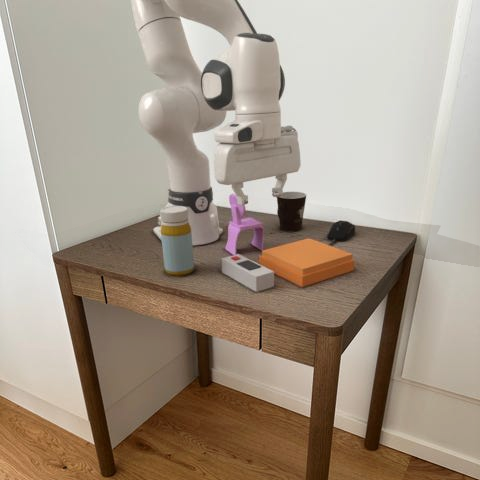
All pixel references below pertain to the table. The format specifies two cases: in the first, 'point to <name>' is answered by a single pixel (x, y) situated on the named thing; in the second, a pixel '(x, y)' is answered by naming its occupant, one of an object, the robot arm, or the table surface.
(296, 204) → the black cup
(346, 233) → the gaming mouse
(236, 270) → the remote
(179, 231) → the bottle
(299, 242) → the folded cloth
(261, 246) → the toy chair
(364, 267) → the table surface
